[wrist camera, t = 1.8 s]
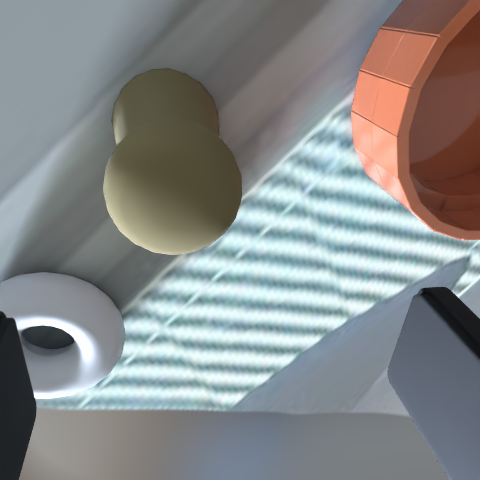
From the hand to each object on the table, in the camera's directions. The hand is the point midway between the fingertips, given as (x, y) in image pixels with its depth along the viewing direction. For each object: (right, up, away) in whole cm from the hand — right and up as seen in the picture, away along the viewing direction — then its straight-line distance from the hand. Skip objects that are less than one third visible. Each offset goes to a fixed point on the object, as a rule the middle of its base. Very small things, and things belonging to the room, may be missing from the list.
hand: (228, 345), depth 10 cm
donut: (-13, -3, +19) cm, 23 cm away
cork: (-4, +9, +14) cm, 17 cm away
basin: (+14, +12, +16) cm, 24 cm away
